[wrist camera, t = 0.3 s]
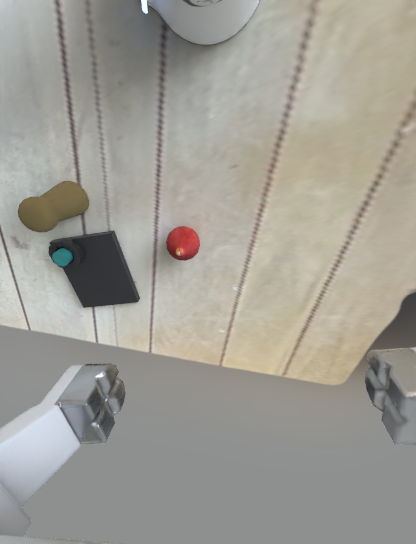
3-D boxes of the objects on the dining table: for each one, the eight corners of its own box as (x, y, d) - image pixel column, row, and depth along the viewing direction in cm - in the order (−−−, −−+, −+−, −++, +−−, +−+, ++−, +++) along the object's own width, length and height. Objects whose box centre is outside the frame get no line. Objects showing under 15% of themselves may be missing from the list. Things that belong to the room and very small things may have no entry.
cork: (73, 220, 48) (34, 244, 39) (48, 192, 46) (0, 211, 37) (95, 204, 46) (60, 226, 37) (71, 174, 44) (27, 188, 35)
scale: (52, 237, 51) (42, 243, 48) (113, 228, 49) (106, 234, 46) (86, 303, 59) (79, 312, 56) (140, 298, 57) (135, 306, 54)
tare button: (54, 248, 49) (49, 253, 47) (68, 246, 48) (63, 250, 47) (61, 262, 50) (56, 267, 49) (75, 260, 50) (70, 265, 48)
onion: (206, 243, 49) (202, 263, 42) (180, 253, 50) (171, 274, 43) (193, 215, 46) (186, 232, 39) (165, 227, 48) (154, 245, 41)
